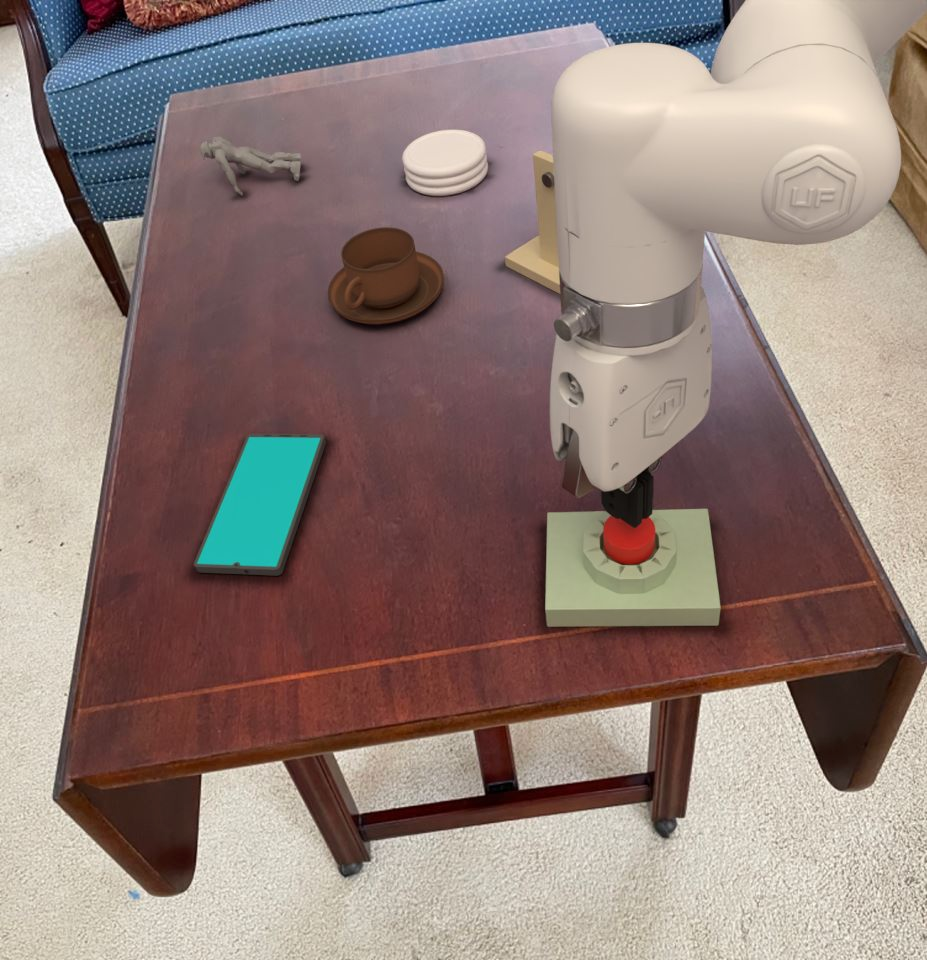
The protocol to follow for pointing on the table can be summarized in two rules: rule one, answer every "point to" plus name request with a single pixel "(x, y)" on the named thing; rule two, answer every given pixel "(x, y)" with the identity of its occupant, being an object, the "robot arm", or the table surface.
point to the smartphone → (261, 505)
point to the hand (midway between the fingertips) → (626, 510)
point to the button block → (631, 573)
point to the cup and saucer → (384, 278)
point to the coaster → (445, 162)
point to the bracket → (541, 231)
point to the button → (628, 540)
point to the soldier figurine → (248, 159)
